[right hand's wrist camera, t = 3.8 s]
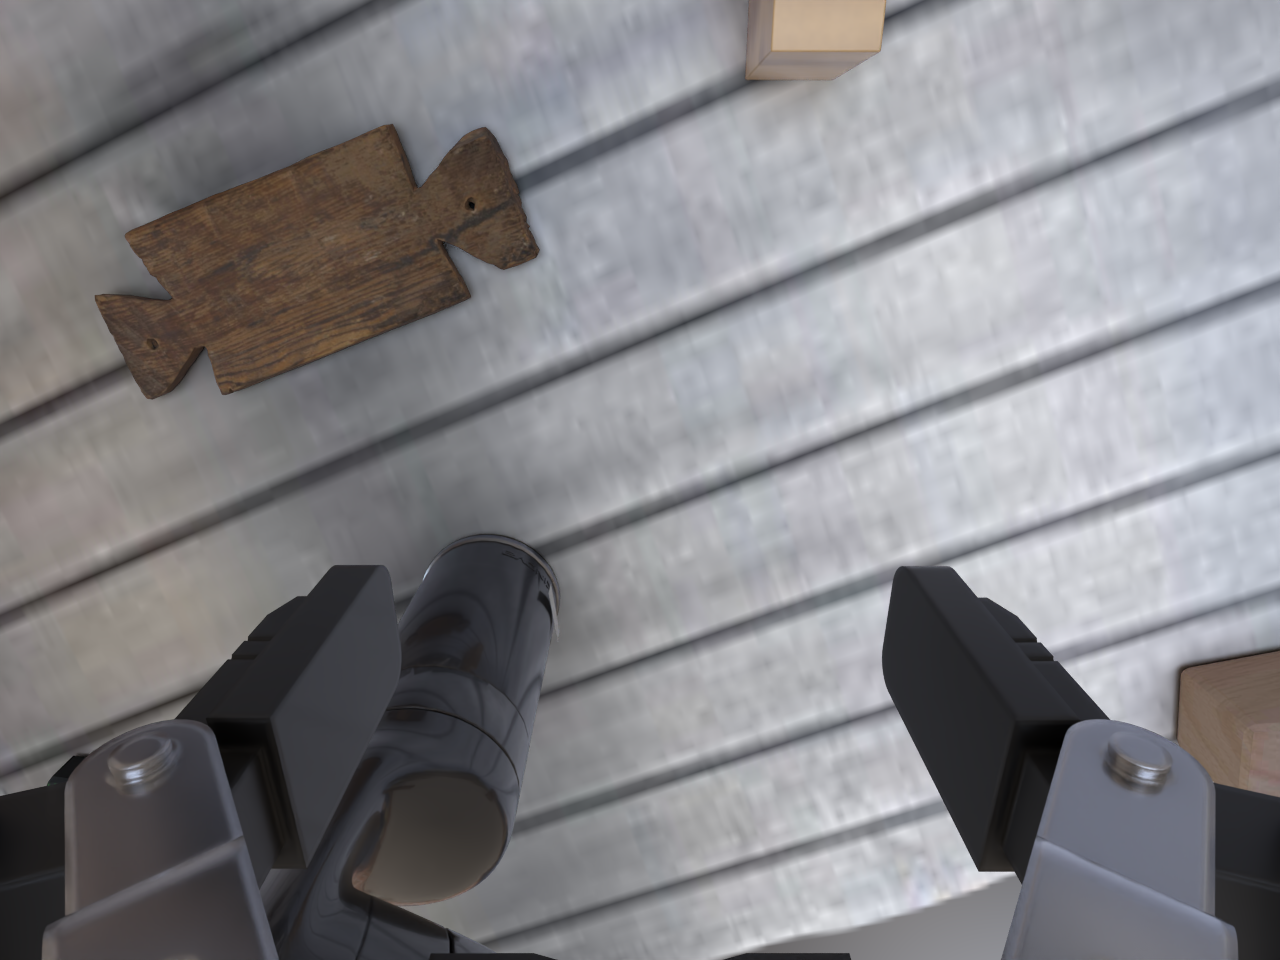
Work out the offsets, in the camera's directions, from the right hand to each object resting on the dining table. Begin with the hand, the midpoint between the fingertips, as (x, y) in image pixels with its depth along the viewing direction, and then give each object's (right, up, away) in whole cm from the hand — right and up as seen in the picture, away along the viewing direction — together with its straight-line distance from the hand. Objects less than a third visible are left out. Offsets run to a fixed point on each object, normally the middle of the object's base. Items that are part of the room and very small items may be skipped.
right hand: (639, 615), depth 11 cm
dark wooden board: (-19, +15, +30) cm, 38 cm away
